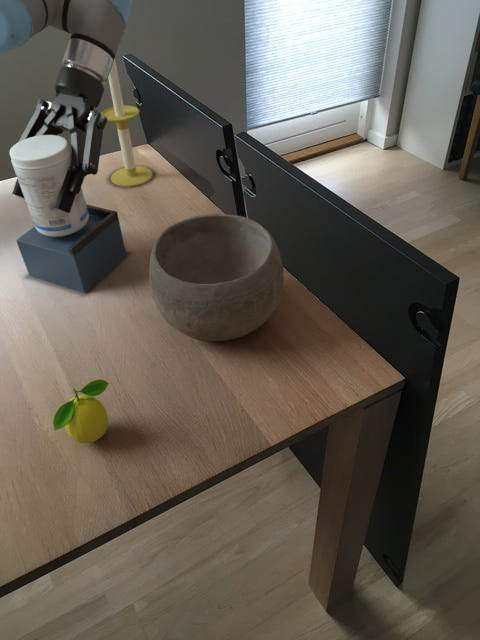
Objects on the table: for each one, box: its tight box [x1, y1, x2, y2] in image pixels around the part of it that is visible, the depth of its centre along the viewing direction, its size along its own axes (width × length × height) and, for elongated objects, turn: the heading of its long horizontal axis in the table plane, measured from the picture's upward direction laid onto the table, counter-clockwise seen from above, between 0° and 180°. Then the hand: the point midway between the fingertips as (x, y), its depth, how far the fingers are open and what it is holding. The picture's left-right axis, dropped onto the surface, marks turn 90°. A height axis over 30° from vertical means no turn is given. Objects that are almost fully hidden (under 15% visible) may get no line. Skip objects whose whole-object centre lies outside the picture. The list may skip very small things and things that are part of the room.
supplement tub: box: [9, 135, 89, 237], centre depth 92 cm, size 10×10×15 cm
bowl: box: [148, 213, 285, 342], centre depth 85 cm, size 21×21×15 cm
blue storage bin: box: [15, 203, 127, 293], centre depth 100 cm, size 13×13×10 cm
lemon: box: [52, 379, 109, 444], centre depth 70 cm, size 7×6×10 cm
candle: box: [100, 58, 154, 188], centre depth 118 cm, size 10×10×32 cm
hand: (40, 203), depth 91 cm, fingers closed on supplement tub, 9 cm apart
